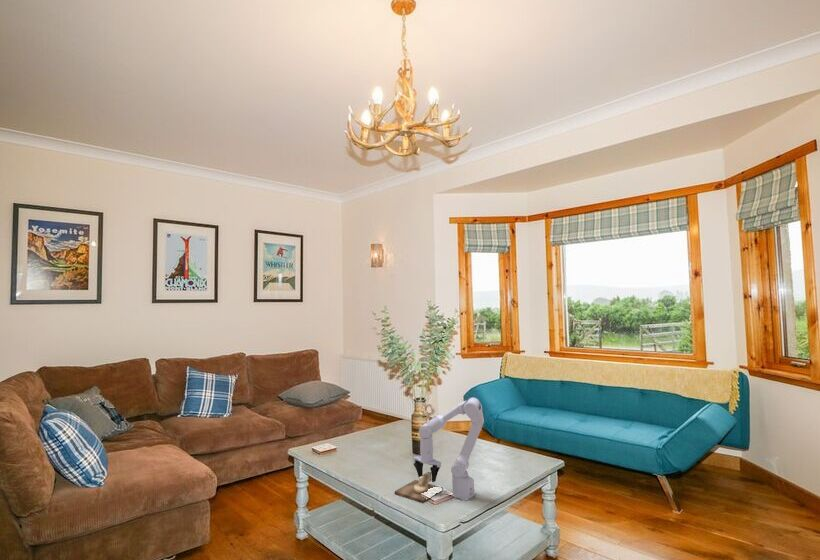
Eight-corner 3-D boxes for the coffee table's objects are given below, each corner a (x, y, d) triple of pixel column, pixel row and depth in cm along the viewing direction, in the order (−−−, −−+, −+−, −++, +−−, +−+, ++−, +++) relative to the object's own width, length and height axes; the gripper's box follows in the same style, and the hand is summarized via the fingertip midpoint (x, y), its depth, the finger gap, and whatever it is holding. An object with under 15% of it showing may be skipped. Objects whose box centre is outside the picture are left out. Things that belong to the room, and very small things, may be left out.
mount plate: (442, 490, 209) (442, 487, 209) (423, 503, 196) (423, 500, 196) (415, 482, 218) (415, 479, 218) (394, 494, 205) (394, 491, 206)
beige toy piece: (423, 495, 201) (423, 481, 201) (411, 491, 204) (411, 478, 205) (435, 486, 210) (435, 473, 210) (424, 483, 213) (424, 470, 214)
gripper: (444, 450, 209) (444, 480, 208) (419, 444, 217) (419, 473, 217) (436, 455, 203) (436, 485, 203) (410, 448, 212) (410, 478, 211)
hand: (427, 479), depth 209 cm, fingers open, 7 cm apart
